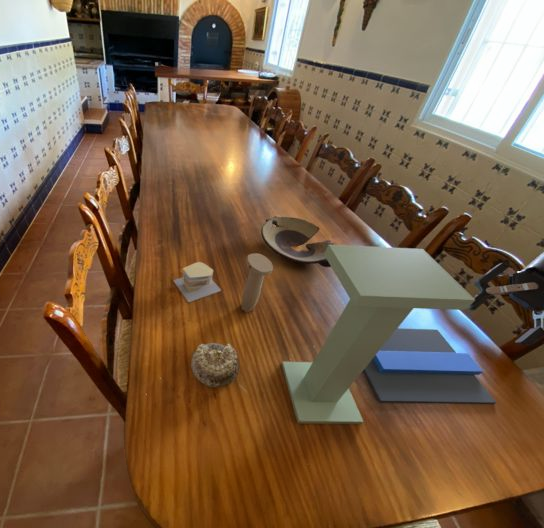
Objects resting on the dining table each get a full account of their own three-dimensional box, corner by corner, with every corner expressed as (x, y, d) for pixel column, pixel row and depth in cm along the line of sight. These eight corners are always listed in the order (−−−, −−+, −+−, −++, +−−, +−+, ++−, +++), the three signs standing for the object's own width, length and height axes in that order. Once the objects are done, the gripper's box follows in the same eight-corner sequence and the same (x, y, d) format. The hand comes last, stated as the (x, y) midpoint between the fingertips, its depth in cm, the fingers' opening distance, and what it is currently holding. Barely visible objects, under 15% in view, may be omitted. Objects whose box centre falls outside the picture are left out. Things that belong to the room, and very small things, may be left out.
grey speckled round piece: (243, 386, 59) (249, 373, 55) (194, 392, 57) (196, 380, 54) (232, 341, 66) (236, 328, 62) (187, 346, 64) (189, 332, 61)
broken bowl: (306, 226, 107) (312, 208, 102) (356, 283, 85) (368, 262, 80) (247, 229, 103) (252, 210, 98) (284, 290, 80) (292, 268, 76)
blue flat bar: (463, 356, 67) (467, 353, 66) (479, 375, 63) (483, 371, 63) (370, 354, 66) (373, 350, 65) (380, 372, 62) (383, 369, 61)
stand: (335, 365, 64) (418, 244, 43) (361, 424, 54) (482, 306, 34) (271, 363, 63) (325, 240, 42) (286, 423, 53) (364, 302, 33)
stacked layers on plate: (188, 302, 75) (189, 286, 71) (172, 280, 80) (173, 264, 77) (221, 290, 79) (224, 275, 75) (204, 270, 84) (206, 255, 81)
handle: (249, 297, 78) (261, 251, 68) (262, 315, 73) (277, 269, 63) (232, 301, 76) (243, 255, 66) (245, 320, 71) (258, 273, 62)
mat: (436, 330, 73) (437, 329, 73) (494, 404, 59) (496, 402, 59) (342, 328, 72) (343, 326, 71) (379, 402, 58) (381, 400, 57)
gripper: (537, 233, 53) (463, 296, 55) (638, 288, 47) (551, 357, 49) (514, 245, 60) (449, 301, 62) (600, 295, 53) (524, 356, 55)
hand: (494, 326), depth 55 cm, fingers open, 8 cm apart
